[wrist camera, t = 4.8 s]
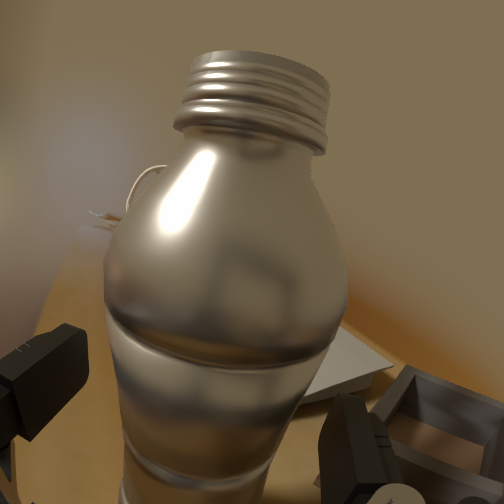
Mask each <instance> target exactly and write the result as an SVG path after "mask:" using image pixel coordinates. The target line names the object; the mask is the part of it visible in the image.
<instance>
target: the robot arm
mask: <svg viewBox="0 0 504 504" xmlns="http://www.w3.org/2000/svg"><path fill="white" fill-rule="evenodd" d="M88 375H89V360H88V342H87V334H86V332H85V330H83V329H80V328H77V327H75V326H72V325H69V324H67V323H64V324H62V325H60V326H59V327H57V328H56V329H54V330H53V331H51V332H47V333H44V334H40V335H37V336H35V337H33V338H32V339H30V340H29V341H27V342H26V344H23V345H21V346H20V347H18V349H17V350H16V349H15V350H14V351H12V352H11V353H9V354H8V355H6V356H5V357H4V358H2V359H1V360H0V504H21V501H20V499H19V496H18V492H17V482H16V465H15V443H14V440H13V438H14V437H15V436H16V435H17V434H18V435H19V436H21V437H23V438H24V439H26V440H27V441H29V442H31V441H32V440H33V439H34V437H35V436H36V435H37V434H38V433H39V432H40V431H41V430H42V429H43V428H44V427H45V426H46V425H47V424H48V423H49V422H50V421H51V420H52V418H53V417H54V416H55V415H56V414H57V413H58V412H59V411H60V410H61V409H62V408H63V407H64V406H65V405H66V404H67V403H68V402H69V401H70V400H71V399H72V398H73V397H74V396H75V395H76V393H77V392H78V391H79V390H80V389H81V388H82V387H83V386H84V385H85V383H86V381H87V379H88ZM388 437H389V435H388V432H387V429H386V426H385V424H384V423H383V421H382V420H381V419H380V418H379V417H378V416H377V415H376V414H375V413H369V412H367V409H366V406H365V402H364V399H363V397H362V396H359V395H350V394H342V393H337V394H336V396H335V398H334V400H333V403H332V405H331V408H330V410H329V412H328V415H327V417H326V420H325V422H324V424H323V427H322V429H321V432H320V436H319V441H318V454H319V469H320V485H321V503H322V504H425V501H424V499H423V497H422V495H421V494H420V493H419V492H418V491H417V490H415V489H414V488H412V487H410V486H407V485H404V481H403V478H402V475H401V472H400V469H399V465H398V462H397V459H396V456H395V453H394V450H393V448H392V444H391V441H390V438H388ZM31 504H35V503H33V502H32V503H31ZM457 504H491V503H489V502H488V501H487V500H485V499H483V498H481V497H476V496H470V497H466V498H463V499H462V500H460V501H459V502H458V503H457Z"/></svg>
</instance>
